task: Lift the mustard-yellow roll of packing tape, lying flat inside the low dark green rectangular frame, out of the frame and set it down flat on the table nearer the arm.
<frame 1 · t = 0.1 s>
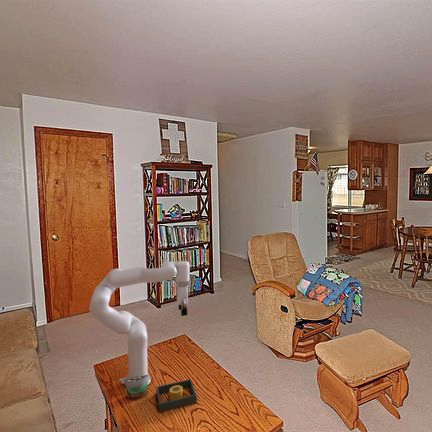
hand: (182, 312, 194), 37 cm above the table, tool pointing down, fingers open, 9 cm apart
food container: (137, 397, 176), on the table
tape roll: (176, 393, 175), in the dark green rectangular frame
dark green rectangular frame: (176, 398, 175), on the table
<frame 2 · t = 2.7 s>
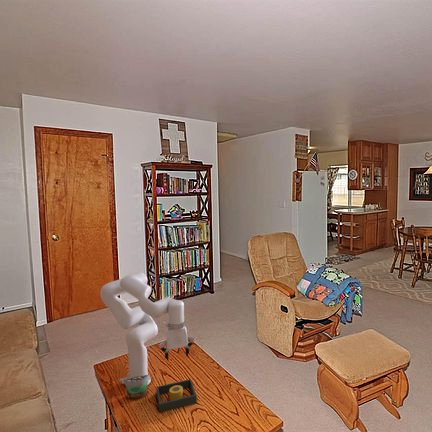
hand: (177, 357, 175), 21 cm above the table, tool pointing down, fingers open, 9 cm apart
nothing on the table moved.
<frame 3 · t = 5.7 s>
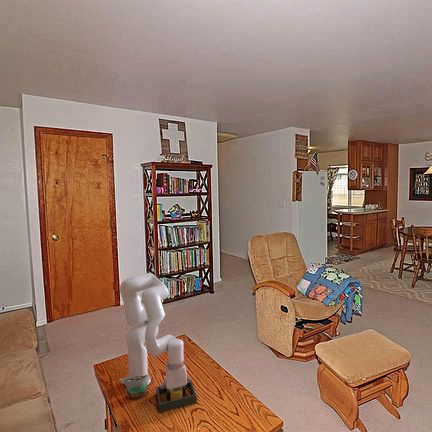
hand: (176, 396, 175), 1 cm above the table, tool pointing down, fingers closed on tape roll, 6 cm apart
tape roll: (176, 393, 175), in the dark green rectangular frame, touching gripper
everything else where it was.
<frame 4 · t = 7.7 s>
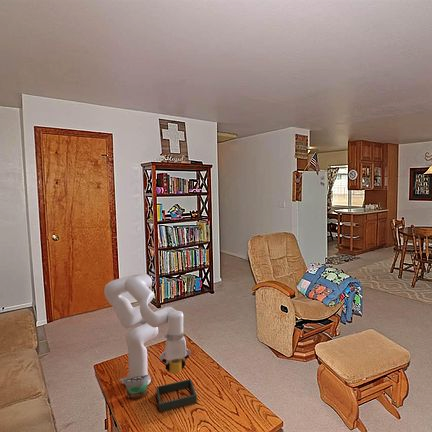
hand: (175, 368, 174), 16 cm above the table, tool pointing down, fingers closed on tape roll, 6 cm apart
tape roll: (175, 365, 174), point 18 cm above the table, touching gripper
everything else where it was.
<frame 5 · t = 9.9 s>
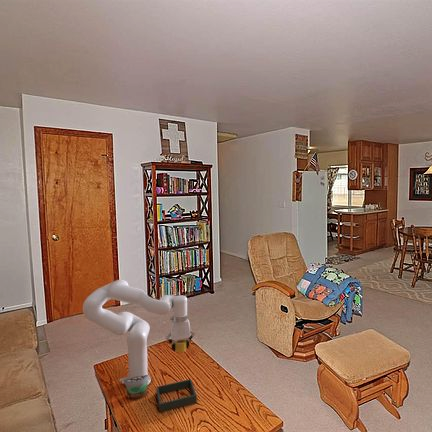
hand: (180, 348, 191), 18 cm above the table, tool pointing down, fingers closed on tape roll, 6 cm apart
tape roll: (180, 345, 190), point 20 cm above the table, touching gripper
everything else where it was.
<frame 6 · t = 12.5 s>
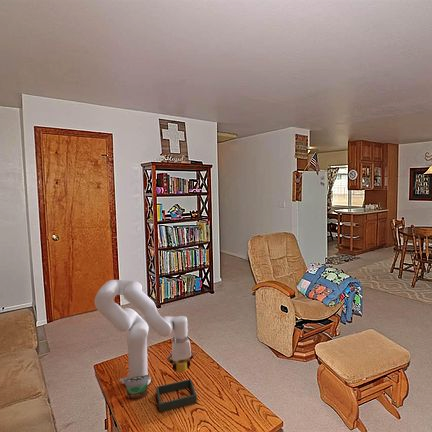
hand: (181, 368, 193), 5 cm above the table, tool pointing down, fingers closed on tape roll, 6 cm apart
tape roll: (181, 365, 193), point 7 cm above the table, touching gripper
everything else where it was.
when the fingers open (1 cm above the table, at t = 14.2 s): tape roll stays where it is, on the table.
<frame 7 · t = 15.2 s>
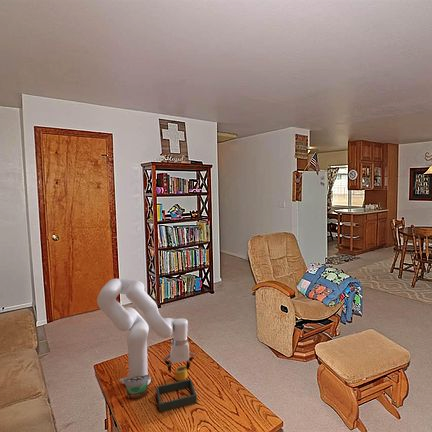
hand: (178, 370, 193), 5 cm above the table, tool pointing down, fingers open, 9 cm apart
tape roll: (181, 373, 193), on the table
everything else where it was.
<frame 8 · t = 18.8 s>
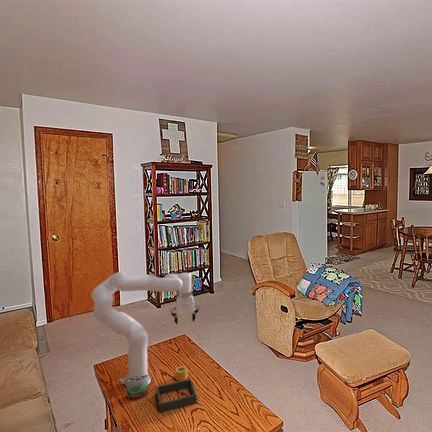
hand: (185, 322, 202), 28 cm above the table, tool pointing down, fingers open, 9 cm apart
nothing on the table moved.
at the end: tape roll inside the target area (0.3 cm from its centre), on the table; tape roll tilted 0°; the gripper is holding nothing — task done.
